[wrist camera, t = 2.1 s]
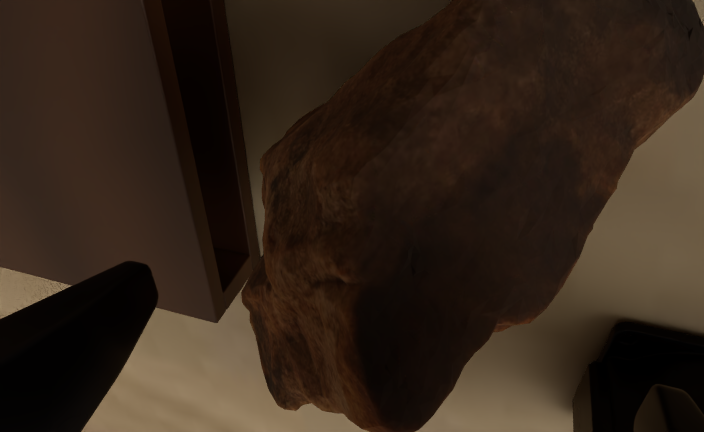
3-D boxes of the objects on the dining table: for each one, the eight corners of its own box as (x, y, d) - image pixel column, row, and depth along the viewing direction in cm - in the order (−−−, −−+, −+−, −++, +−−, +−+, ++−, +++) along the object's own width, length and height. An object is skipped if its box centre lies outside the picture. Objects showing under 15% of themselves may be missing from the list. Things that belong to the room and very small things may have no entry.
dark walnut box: (184, -284, 13) (68, -319, 10) (261, 260, 24) (217, 324, 20) (-161, -263, 16) (-336, -286, 13) (48, 213, 26) (-18, 263, 23)
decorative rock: (372, 227, 20) (249, 496, 12) (273, 105, 18) (49, 326, 10) (718, 69, 14) (967, 435, 5) (618, -150, 12) (768, -101, 3)
